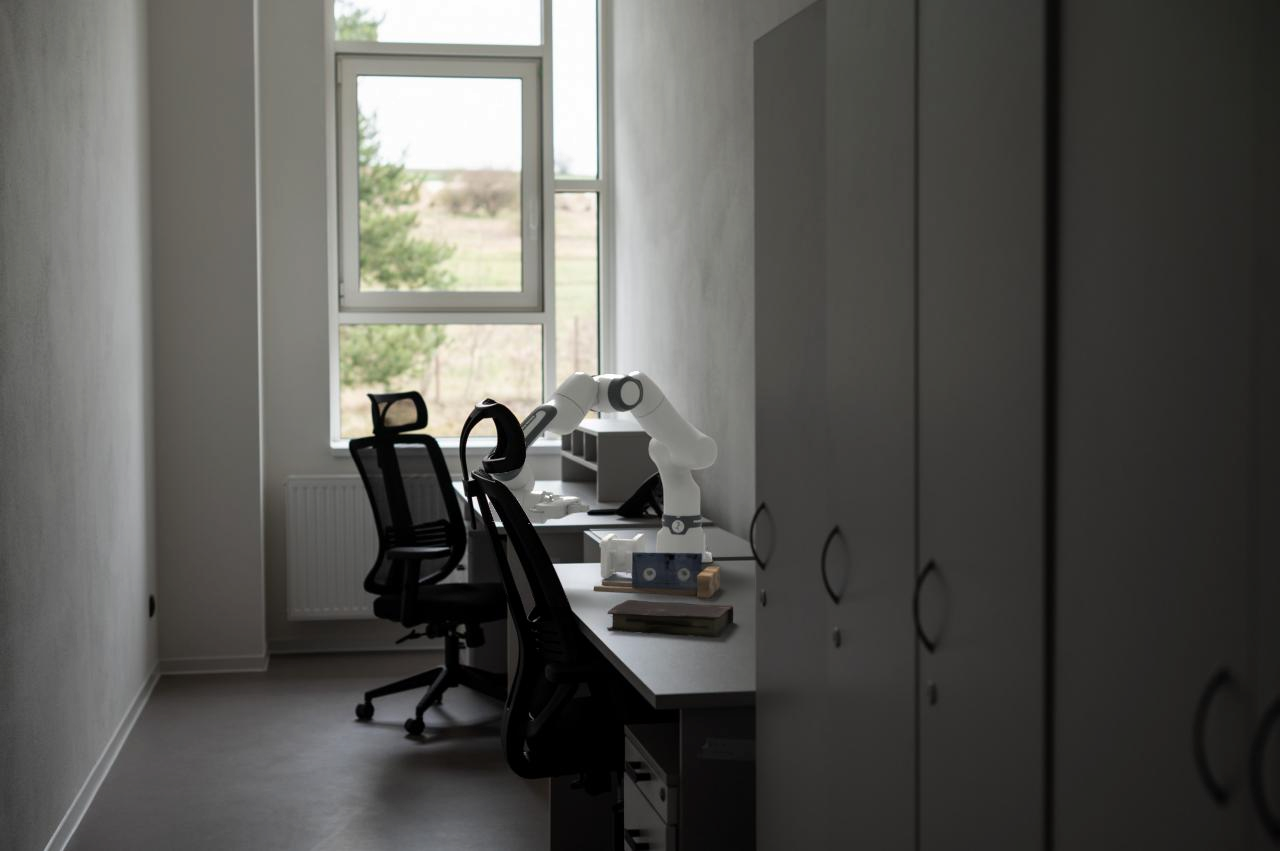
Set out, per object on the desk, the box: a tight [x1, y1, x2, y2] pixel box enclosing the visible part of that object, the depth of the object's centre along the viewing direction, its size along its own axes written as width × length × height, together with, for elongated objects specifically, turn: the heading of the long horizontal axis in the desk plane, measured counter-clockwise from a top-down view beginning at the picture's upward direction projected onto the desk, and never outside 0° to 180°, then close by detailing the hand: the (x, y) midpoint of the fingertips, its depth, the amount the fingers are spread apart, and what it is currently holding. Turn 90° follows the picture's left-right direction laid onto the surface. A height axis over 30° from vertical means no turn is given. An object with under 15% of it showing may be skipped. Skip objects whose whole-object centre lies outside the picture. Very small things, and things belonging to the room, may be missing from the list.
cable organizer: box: [598, 533, 646, 580], centre depth 351 cm, size 15×11×12 cm
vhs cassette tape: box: [631, 552, 703, 591], centre depth 330 cm, size 18×3×10 cm, turn 90°
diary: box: [606, 599, 735, 639], centre depth 284 cm, size 19×25×5 cm
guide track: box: [593, 565, 721, 599], centre depth 331 cm, size 16×31×6 cm, turn 77°
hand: (588, 508), depth 334 cm, fingers closed
